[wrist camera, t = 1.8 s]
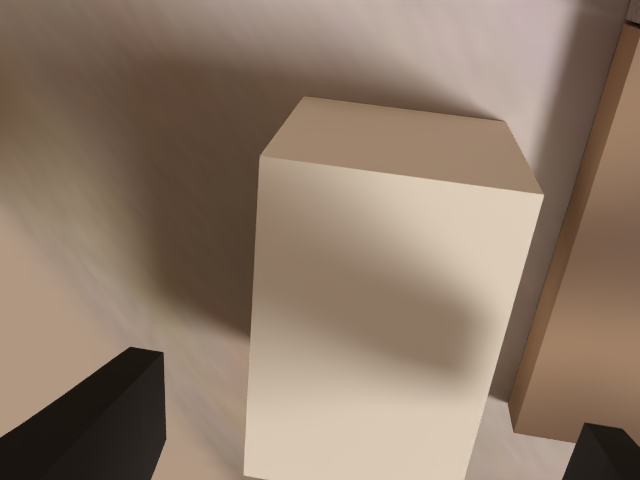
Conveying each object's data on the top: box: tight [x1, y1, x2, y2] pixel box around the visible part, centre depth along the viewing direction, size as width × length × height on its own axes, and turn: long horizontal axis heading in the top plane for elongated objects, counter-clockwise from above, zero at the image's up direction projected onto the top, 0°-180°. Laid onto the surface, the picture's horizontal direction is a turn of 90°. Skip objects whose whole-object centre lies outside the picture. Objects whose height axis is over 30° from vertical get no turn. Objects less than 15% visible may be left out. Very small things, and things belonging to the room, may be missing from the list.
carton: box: [244, 96, 544, 480], centre depth 15 cm, size 8×5×5 cm, turn 175°
